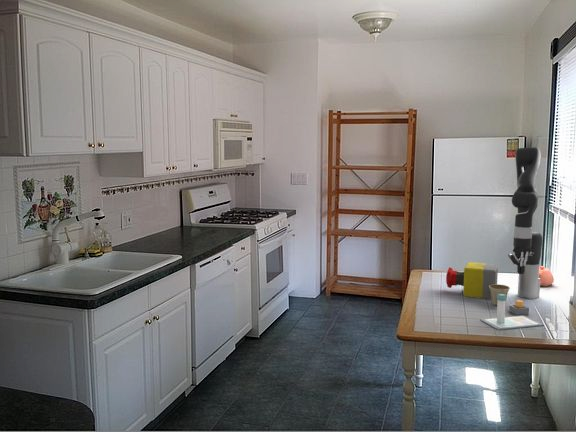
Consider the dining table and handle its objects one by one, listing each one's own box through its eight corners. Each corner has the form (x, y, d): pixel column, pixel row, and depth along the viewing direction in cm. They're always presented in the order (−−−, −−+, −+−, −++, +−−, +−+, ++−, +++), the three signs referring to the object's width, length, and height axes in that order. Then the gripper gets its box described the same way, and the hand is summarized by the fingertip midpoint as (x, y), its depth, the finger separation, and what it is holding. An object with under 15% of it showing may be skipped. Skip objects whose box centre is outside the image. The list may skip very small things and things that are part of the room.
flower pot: (499, 308, 259) (500, 290, 257) (484, 303, 267) (484, 285, 266) (513, 305, 263) (514, 287, 262) (497, 300, 271) (498, 283, 270)
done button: (519, 308, 254) (520, 299, 253) (524, 310, 250) (525, 301, 250) (513, 308, 253) (513, 300, 252) (518, 311, 249) (518, 302, 249)
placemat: (523, 316, 247) (524, 314, 247) (543, 325, 234) (543, 324, 234) (480, 320, 242) (480, 318, 242) (498, 330, 229) (498, 328, 229)
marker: (501, 320, 239) (502, 293, 237) (506, 322, 236) (507, 296, 234) (494, 321, 238) (495, 294, 237) (499, 323, 235) (500, 296, 233)
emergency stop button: (448, 287, 295) (449, 260, 293) (496, 292, 285) (498, 264, 283) (444, 294, 282) (445, 266, 280) (494, 300, 272) (495, 270, 270)
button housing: (520, 310, 255) (520, 304, 255) (528, 314, 249) (529, 307, 249) (509, 311, 254) (509, 305, 254) (517, 315, 248) (517, 308, 248)
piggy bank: (555, 283, 301) (556, 265, 300) (551, 289, 290) (552, 270, 288) (531, 280, 308) (532, 262, 307) (526, 286, 296) (527, 267, 295)
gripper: (530, 234, 252) (528, 271, 254) (504, 235, 249) (502, 272, 251) (541, 237, 245) (538, 274, 247) (515, 238, 242) (513, 276, 244)
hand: (520, 273), depth 249 cm, fingers closed
